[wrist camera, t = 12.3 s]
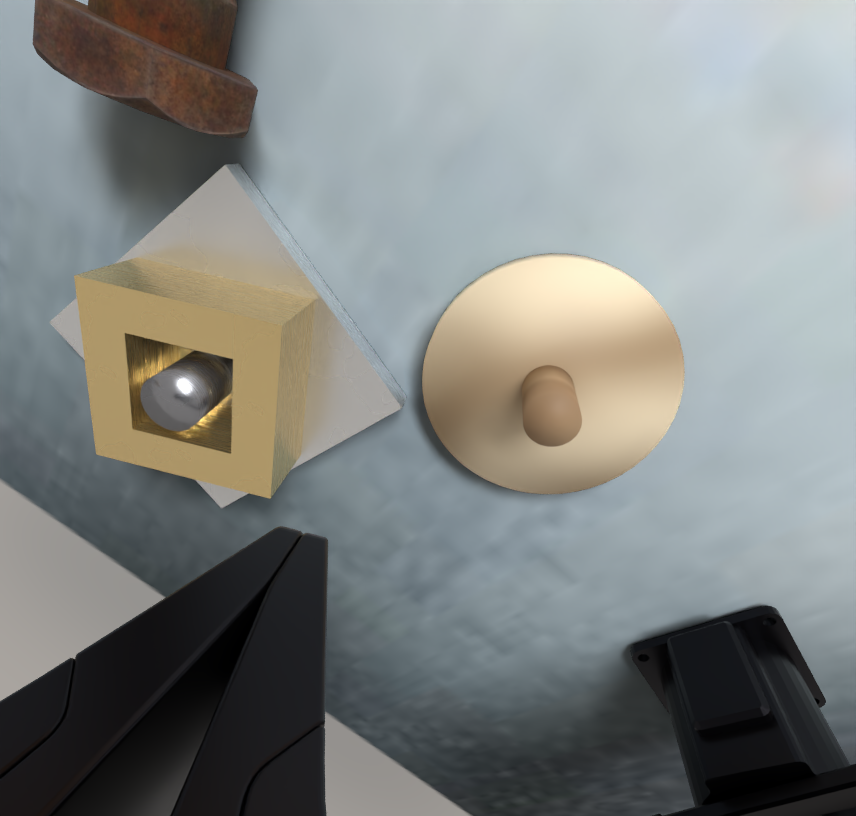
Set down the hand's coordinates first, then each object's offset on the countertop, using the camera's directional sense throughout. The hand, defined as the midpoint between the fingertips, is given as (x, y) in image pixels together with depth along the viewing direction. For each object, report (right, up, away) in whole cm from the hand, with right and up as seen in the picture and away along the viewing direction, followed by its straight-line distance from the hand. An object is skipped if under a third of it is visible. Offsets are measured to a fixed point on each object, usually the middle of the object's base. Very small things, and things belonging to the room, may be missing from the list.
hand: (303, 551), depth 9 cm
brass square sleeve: (-6, +4, +11) cm, 13 cm away
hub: (-6, +5, +12) cm, 14 cm away
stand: (+6, +4, +11) cm, 13 cm away
